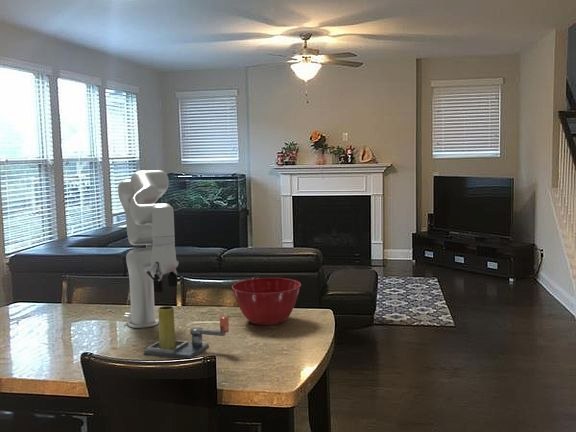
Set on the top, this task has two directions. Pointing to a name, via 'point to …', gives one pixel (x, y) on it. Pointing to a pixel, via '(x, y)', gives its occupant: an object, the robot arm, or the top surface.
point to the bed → (179, 348)
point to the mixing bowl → (266, 299)
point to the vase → (166, 328)
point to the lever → (222, 332)
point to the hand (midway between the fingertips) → (165, 289)
